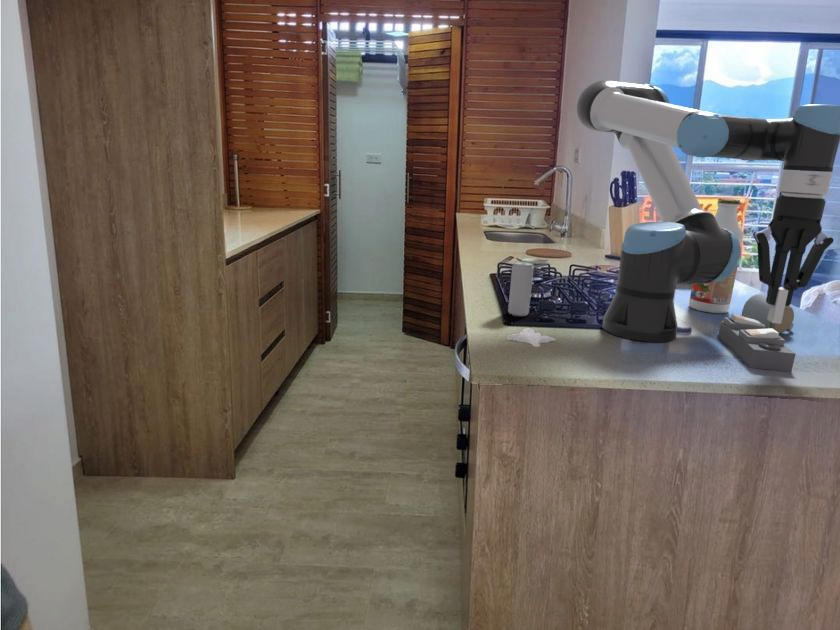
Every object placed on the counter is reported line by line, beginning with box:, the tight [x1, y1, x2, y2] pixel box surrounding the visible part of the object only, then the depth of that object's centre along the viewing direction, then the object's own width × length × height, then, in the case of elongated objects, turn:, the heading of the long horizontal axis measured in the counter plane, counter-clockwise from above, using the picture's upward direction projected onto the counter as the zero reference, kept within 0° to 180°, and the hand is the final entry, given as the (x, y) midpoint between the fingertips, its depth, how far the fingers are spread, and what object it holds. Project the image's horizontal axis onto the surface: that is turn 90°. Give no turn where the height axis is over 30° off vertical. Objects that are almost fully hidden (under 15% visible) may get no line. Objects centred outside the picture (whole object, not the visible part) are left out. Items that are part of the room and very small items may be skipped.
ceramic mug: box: [741, 293, 795, 335], centre depth 133 cm, size 11×8×8 cm
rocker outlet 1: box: [729, 313, 761, 325], centre depth 121 cm, size 5×3×1 cm
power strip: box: [717, 316, 796, 373], centre depth 115 cm, size 7×20×5 cm, turn 169°
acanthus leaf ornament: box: [506, 327, 556, 348], centre depth 116 cm, size 8×7×2 cm
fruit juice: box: [688, 197, 744, 314], centre depth 146 cm, size 9×9×28 cm
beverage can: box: [507, 260, 535, 317], centre depth 134 cm, size 5×5×12 cm
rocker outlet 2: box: [745, 328, 780, 338], centre depth 112 cm, size 5×3×1 cm
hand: (773, 321), depth 111 cm, fingers closed
